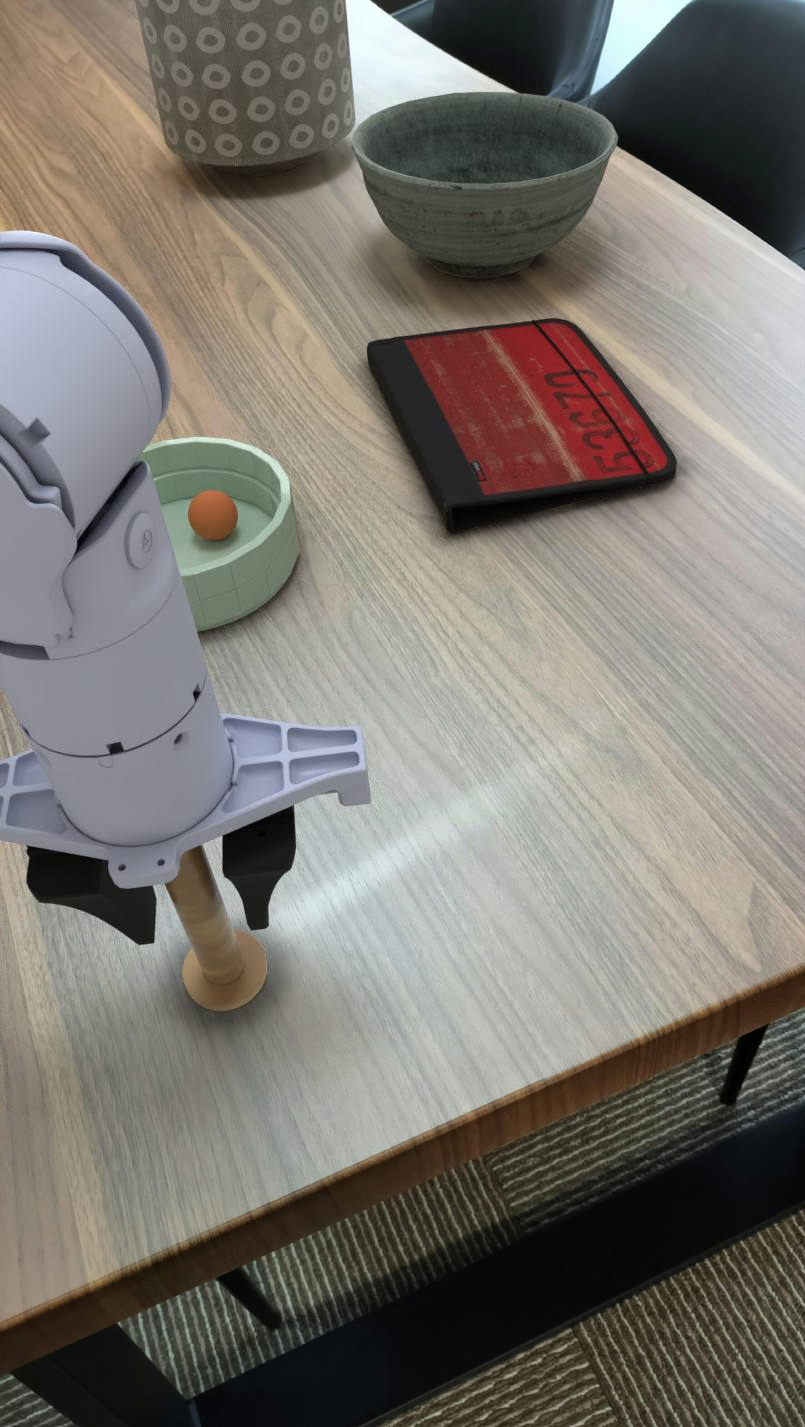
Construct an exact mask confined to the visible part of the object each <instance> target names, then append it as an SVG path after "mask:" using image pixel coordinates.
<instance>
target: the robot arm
mask: <svg viewBox="0 0 805 1427" xmlns="http://www.w3.org/2000/svg"><path fill="white" fill-rule="evenodd" d="M170 370H171V369H170V364H169V361H168V357H167V354H166V350H165V348H164V346H163V343H162V341H161V338H160V336H159V333H158V332H157V330H156V329H155V327H154V325H153V323H152V321H151V320H150V319H149V317H148V315H147V314H146V312H145V311H144V310H143V309H142V307H141V305H140V304H139V303H138V302H137V301H136V300H135V298H134V297H133V296H132V295H131V294H130V293H129V291H128V290H126V289H125V288H124V286H122V285H121V284H120V283H119V282H118V281H117V280H116V279H115V278H114V277H112V276H111V275H110V274H109V273H107V271H105V270H103V269H102V268H101V267H99V266H98V265H97V264H95V263H94V262H93V261H92V260H91V259H90V258H89V257H88V256H87V255H86V254H85V253H84V252H83V251H82V250H81V249H80V248H79V247H78V246H77V245H75V244H74V243H72V242H69V241H67V240H65V239H62V238H60V237H56V236H54V235H50V234H47V233H43V232H38V231H31V230H6V231H0V689H1V691H2V693H3V695H4V697H5V699H6V700H7V702H8V704H9V706H10V708H11V710H12V713H13V714H14V716H15V718H16V720H17V722H18V723H19V726H20V728H21V730H22V732H23V734H24V736H25V738H26V740H27V742H28V743H29V745H30V747H31V748H30V749H28V750H25V751H23V752H21V753H17V754H16V755H13V756H10V757H8V758H4V759H2V760H0V842H7V843H12V844H17V845H23V846H26V851H25V852H26V855H27V856H28V862H27V867H26V868H27V870H26V879H25V880H26V885H27V888H28V890H29V891H30V893H31V894H32V896H33V897H34V899H35V900H36V901H37V902H38V903H40V904H49V905H57V906H64V907H67V908H71V909H73V910H74V909H75V910H77V911H81V912H84V913H86V914H88V915H90V916H93V917H94V918H97V919H99V920H101V921H102V922H104V923H106V924H108V925H109V926H111V927H113V928H114V929H115V930H117V931H118V932H120V933H121V934H122V935H124V936H125V937H127V938H128V939H129V940H131V941H132V942H134V944H137V945H138V946H144V945H152V944H155V942H156V941H155V939H156V922H157V921H156V920H157V901H158V900H157V899H158V898H157V895H156V892H155V888H154V886H158V885H165V883H168V882H171V881H172V880H173V879H174V878H175V877H176V876H177V875H178V872H179V869H180V858H181V856H182V854H183V853H184V852H186V851H188V850H190V849H192V848H195V847H197V846H199V845H202V844H203V845H204V844H207V843H209V842H211V841H213V840H216V839H218V838H221V840H222V841H221V849H222V850H221V870H222V874H223V878H225V879H227V880H228V881H230V883H231V885H233V887H234V888H235V890H236V891H237V894H238V895H239V897H240V899H241V902H242V907H243V911H244V916H245V921H246V925H247V927H248V928H249V930H250V931H252V932H253V931H260V930H266V929H268V928H269V927H270V915H269V913H270V911H269V910H270V909H269V905H270V902H271V898H272V896H273V892H274V890H275V888H276V886H277V885H278V882H280V880H281V879H282V877H283V876H284V875H285V874H286V873H288V872H289V871H291V870H292V867H293V865H294V861H295V856H296V853H297V834H296V832H297V831H296V815H295V805H298V804H299V803H302V802H305V801H307V800H309V799H311V798H314V797H316V796H320V795H322V796H323V795H329V794H336V793H337V798H338V802H339V804H340V805H342V806H343V807H355V806H363V805H369V804H371V803H372V794H371V786H370V778H369V769H368V760H367V754H366V746H365V739H364V731H363V726H362V725H349V726H331V727H330V726H317V725H316V726H315V725H305V724H298V723H293V722H292V723H291V722H285V721H279V720H272V719H267V718H266V719H265V718H258V717H253V716H246V715H245V716H243V715H237V714H231V713H225V712H221V711H220V707H219V704H218V700H217V696H216V694H215V690H214V686H213V682H212V680H211V675H210V672H209V669H208V666H207V662H206V657H205V655H204V651H203V647H202V644H201V640H200V636H199V633H198V631H197V630H196V626H195V623H194V619H193V616H192V612H191V609H190V605H189V602H188V598H187V595H186V591H185V588H184V585H183V581H182V578H181V574H180V571H179V567H178V564H177V560H176V557H175V553H174V550H173V546H172V543H171V539H170V536H169V532H168V529H167V525H166V522H165V519H164V515H163V512H162V508H161V505H160V501H159V498H158V494H157V491H156V487H155V484H154V480H153V477H152V474H151V470H150V467H149V465H148V463H147V462H145V461H136V460H137V459H138V458H139V456H140V455H141V454H142V452H143V451H144V450H145V448H146V447H147V446H148V445H150V444H151V442H152V440H153V439H154V437H155V435H156V433H157V430H158V428H159V426H160V424H161V423H162V421H163V419H164V418H165V416H166V414H167V411H168V408H169V405H170V402H171V393H172V380H171V371H170Z"/></svg>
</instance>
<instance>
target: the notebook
mask: <svg viewBox="0 0 805 1427" xmlns="http://www.w3.org/2000/svg"><path fill="white" fill-rule="evenodd" d="M366 358H367V364H368V367H369V369H370V371H371V373H372V374H373V377H374V379H375V381H376V384H377V385H378V388H379V390H380V392H381V394H382V397H383V399H384V401H385V403H386V405H387V407H388V409H389V411H390V413H391V415H392V418H393V420H394V422H395V424H396V426H397V429H398V430H399V432H400V434H401V437H402V438H403V441H404V444H405V445H406V447H407V449H408V451H409V452H410V455H411V456H412V459H413V461H414V463H415V465H416V467H417V468H418V469H417V470H418V471H419V473H420V476H421V477H422V479H423V481H424V484H425V486H426V488H427V489H428V492H429V494H430V496H431V498H432V500H433V502H434V504H435V506H436V508H437V510H438V512H439V514H440V516H441V518H442V520H443V522H444V525H445V528H446V530H447V532H448V533H449V534H457V533H460V532H464V531H468V530H473V529H477V528H480V527H484V526H488V525H492V524H496V523H498V522H499V523H500V522H503V521H506V520H510V519H514V518H515V519H516V518H519V517H523V516H528V515H532V514H536V513H540V512H544V511H548V510H552V509H556V508H560V507H565V506H569V505H573V504H578V503H581V502H587V501H589V500H594V499H599V498H602V497H607V496H611V495H615V494H619V493H624V492H628V491H631V490H632V491H633V490H638V489H641V488H648V487H650V486H653V485H658V484H661V483H665V482H667V481H670V480H671V479H672V478H673V477H674V476H675V475H676V473H677V464H678V459H677V457H676V455H675V453H674V452H673V450H672V449H671V447H670V445H669V444H668V443H667V441H666V440H665V438H664V437H663V435H662V434H661V433H660V430H659V429H658V428H657V426H656V424H655V423H654V421H653V420H652V419H651V418H650V416H649V415H648V413H647V412H646V410H645V409H644V408H643V406H642V405H641V404H640V403H639V401H638V400H637V398H636V397H635V395H633V393H632V392H631V390H630V389H629V388H628V386H627V385H626V384H625V382H624V381H623V380H622V379H621V377H620V376H619V375H618V373H616V372H617V371H615V369H614V368H613V367H612V366H611V365H610V363H609V362H608V360H607V359H606V358H605V357H604V355H603V353H602V352H600V351H599V349H598V348H597V347H596V345H595V344H594V343H593V341H591V340H590V338H589V337H588V335H587V334H586V333H585V332H584V331H583V330H582V328H580V327H579V325H577V324H575V323H574V322H573V321H570V320H568V319H563V318H558V317H548V318H540V319H539V318H538V319H532V320H525V321H518V322H510V323H509V322H508V323H499V324H490V325H479V326H471V327H463V328H457V329H456V328H455V329H448V330H439V331H432V332H425V333H417V334H416V333H415V334H409V335H399V336H398V335H397V336H393V337H389V338H381V339H376V340H372V341H369V342H368V343H367V346H366Z"/></svg>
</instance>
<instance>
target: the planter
mask: <svg viewBox="0 0 805 1427" xmlns="http://www.w3.org/2000/svg"><path fill="white" fill-rule="evenodd" d="M134 4H135V9H136V14H137V18H138V23H139V27H140V33H141V37H142V41H143V46H144V50H145V51H144V52H145V56H146V60H147V64H148V70H149V75H150V78H151V84H152V89H153V94H154V97H155V103H156V107H157V113H158V117H159V121H160V126H161V131H162V135H163V140H164V143H165V145H166V147H167V148H168V149H169V150H170V151H171V153H173V154H175V155H177V156H179V157H181V158H182V159H186V160H188V161H192V162H195V163H199V164H204V165H205V164H206V165H208V166H210V167H212V168H214V169H217V170H220V171H223V172H225V173H226V172H227V173H231V174H235V175H241V176H251V177H254V176H270V175H275V174H280V173H283V172H287V171H290V170H293V169H295V168H297V167H299V166H301V165H302V164H305V163H307V162H308V161H310V160H312V159H313V158H315V157H316V156H318V155H319V154H320V153H321V152H323V151H324V150H326V149H328V148H329V147H332V146H334V145H336V144H338V143H339V142H341V141H343V140H344V139H345V138H346V137H348V136H349V134H350V133H351V132H352V130H354V127H355V125H356V108H355V96H354V94H355V93H354V84H353V83H354V82H353V72H352V60H351V48H350V36H349V35H350V34H349V22H348V11H347V0H134Z"/></svg>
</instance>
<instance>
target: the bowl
mask: <svg viewBox="0 0 805 1427" xmlns="http://www.w3.org/2000/svg"><path fill="white" fill-rule="evenodd" d="M352 134H353V135H352V141H351V151H352V153H353V154H354V156H355V159H356V162H357V163H358V166H359V167H360V170H361V172H362V178H363V183H364V186H365V189H366V192H367V193H368V196H369V197H370V200H371V201H372V203H373V206H374V207H375V210H376V211H377V213H378V215H379V217H380V219H381V221H382V223H383V224H384V226H385V227H386V228H387V229H388V230H389V232H390V233H391V234H392V235H393V236H394V237H395V238H396V239H398V240H399V241H400V242H401V243H402V244H404V245H405V246H407V247H408V248H409V249H411V250H412V251H414V252H416V253H417V254H420V255H422V256H424V257H425V258H426V260H427V262H428V263H429V264H430V265H431V266H432V267H433V268H435V269H436V270H437V271H440V272H442V273H445V274H448V275H450V276H451V275H452V276H454V277H460V278H467V279H469V278H470V279H489V278H490V279H491V278H498V277H503V276H507V275H510V274H513V273H516V272H518V271H521V270H523V269H525V268H527V267H528V266H529V265H530V264H532V262H533V261H534V260H535V258H536V256H538V255H539V254H542V253H544V252H546V251H548V250H550V249H552V248H554V247H555V246H556V245H558V243H560V242H561V241H563V240H564V239H565V238H566V237H567V236H569V235H570V234H571V233H572V232H573V231H574V230H575V228H576V227H577V226H578V225H579V224H580V222H581V221H582V220H583V219H584V217H585V216H586V215H587V213H588V211H589V210H590V209H591V206H592V205H593V203H594V200H595V197H596V195H597V193H598V190H599V188H600V186H601V184H602V181H603V179H604V176H605V174H606V170H607V167H608V164H609V161H610V158H611V156H612V155H613V153H614V152H615V150H616V148H617V145H618V141H619V135H618V133H617V132H616V129H615V127H614V125H613V123H612V122H611V121H609V120H608V118H607V117H606V116H604V115H603V114H601V113H600V112H597V111H595V110H594V109H592V108H590V107H587V106H584V105H582V104H579V103H576V102H573V101H571V100H565V99H561V98H557V97H553V96H546V95H538V94H531V93H520V92H507V91H466V92H465V91H464V92H453V93H452V92H451V93H445V94H439V95H433V96H428V97H421V98H418V99H411V100H407V101H403V102H400V103H398V104H395V105H392V106H388V107H387V108H384V109H382V110H380V111H377V112H375V113H373V114H371V115H370V116H369V117H367V118H366V119H364V120H363V121H362V122H361V123H359V125H358V126H357V128H356V129H355V131H354V132H353V133H352Z"/></svg>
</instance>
